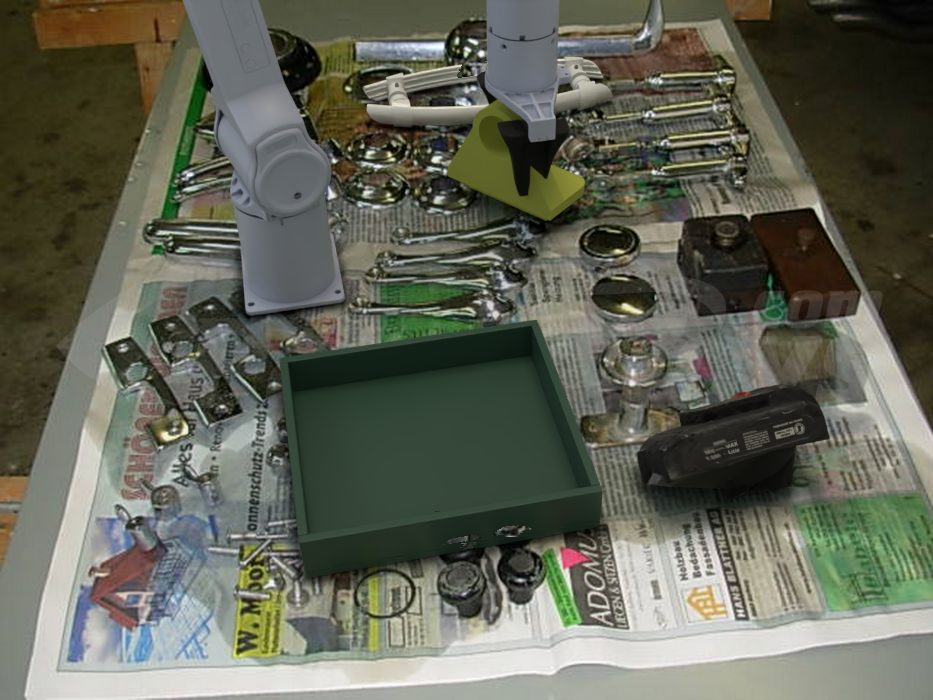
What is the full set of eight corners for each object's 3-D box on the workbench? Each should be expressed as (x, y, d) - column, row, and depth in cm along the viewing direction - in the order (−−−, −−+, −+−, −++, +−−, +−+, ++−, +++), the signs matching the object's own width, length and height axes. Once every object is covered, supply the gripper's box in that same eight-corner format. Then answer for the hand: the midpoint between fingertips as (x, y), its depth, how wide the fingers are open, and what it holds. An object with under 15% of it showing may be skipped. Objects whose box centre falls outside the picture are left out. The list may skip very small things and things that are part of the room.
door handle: (362, 92, 116) (595, 68, 119) (370, 141, 109) (619, 114, 111) (360, 69, 114) (596, 45, 117) (368, 117, 107) (620, 90, 110)
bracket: (589, 202, 99) (595, 101, 92) (549, 233, 95) (553, 131, 88) (489, 160, 104) (488, 62, 97) (448, 188, 101) (444, 89, 94)
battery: (810, 479, 77) (776, 384, 78) (859, 469, 69) (820, 363, 70) (649, 529, 76) (617, 431, 77) (680, 525, 68) (644, 416, 69)
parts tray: (285, 393, 83) (278, 357, 80) (536, 354, 85) (537, 318, 83) (306, 578, 70) (299, 543, 68) (600, 527, 72) (603, 491, 70)
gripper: (596, 61, 83) (587, 211, 92) (548, -18, 94) (544, 124, 103) (505, 72, 82) (504, 222, 91) (466, -9, 93) (470, 133, 102)
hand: (520, 171), depth 97 cm, fingers closed on bracket, 6 cm apart
